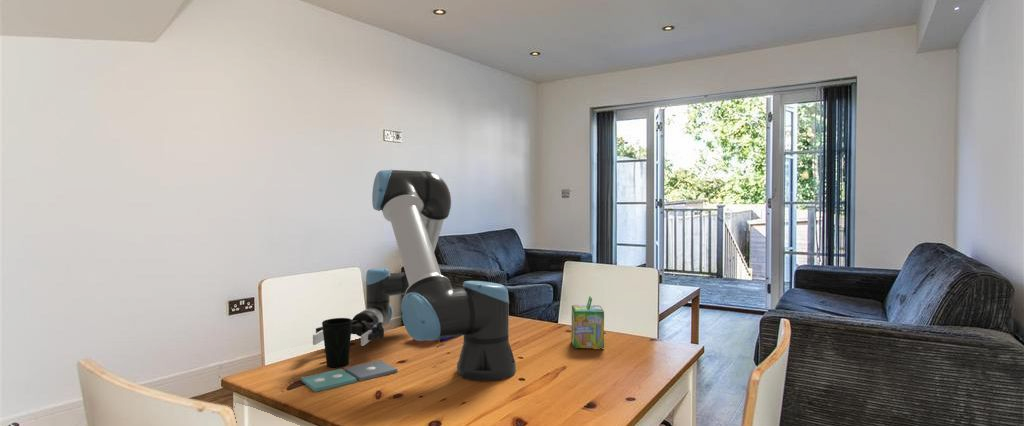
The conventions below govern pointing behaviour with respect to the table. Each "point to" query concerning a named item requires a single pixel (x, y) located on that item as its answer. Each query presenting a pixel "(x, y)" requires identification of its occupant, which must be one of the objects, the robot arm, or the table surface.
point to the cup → (337, 341)
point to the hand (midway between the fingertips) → (337, 340)
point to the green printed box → (587, 326)
